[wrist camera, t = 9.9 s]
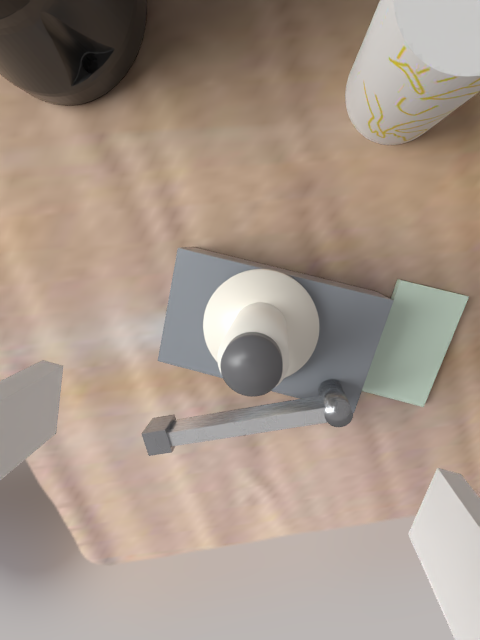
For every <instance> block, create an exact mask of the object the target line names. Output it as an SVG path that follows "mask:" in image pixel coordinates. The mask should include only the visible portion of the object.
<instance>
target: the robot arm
mask: <svg viewBox="0 0 480 640" xmlns="http://www.w3.org/2000/svg"><path fill="white" fill-rule="evenodd" d="M146 15H147V0H0V74H1V75H2V76H3V77H4V78H5V79H7V80H8V81H9V82H11V83H12V84H14V85H15V86H17V87H19V88H21V89H22V90H24V91H26V92H27V93H29V94H31V95H32V96H34V97H36V98H38V99H41V100H43V101H46V102H49V103H53V104H58V105H78V104H83V103H87V102H90V101H92V100H95V99H97V98H99V97H101V96H102V95H104V94H106V93H107V92H108V91H110V90H111V89H112V88H113V87H115V86H116V85H117V84H118V83H119V82H120V80H121V79H122V78H123V77H124V76H125V74H126V73H127V72H128V70H129V68H130V67H131V65H132V63H133V62H134V60H135V58H136V55H137V53H138V51H139V48H140V45H141V42H142V39H143V34H144V30H145V24H146ZM62 373H63V366H62V365H59V364H55V363H51V362H48V361H44V360H42V361H40V362H38V363H36V364H34V365H32V366H30V367H28V368H26V369H24V370H22V371H20V372H18V373H16V374H14V375H12V376H10V377H8V378H6V379H4V380H1V381H0V480H1V479H2V478H3V477H4V476H6V475H7V474H8V473H9V472H11V471H12V470H13V469H14V468H15V467H16V466H18V465H19V464H20V463H21V462H22V461H24V460H25V459H26V458H27V457H28V456H30V455H31V454H32V453H33V452H34V451H36V450H37V449H38V448H39V447H40V446H41V445H43V444H44V443H45V442H46V441H47V440H49V439H50V438H51V437H52V436H53V435H55V434H56V429H57V420H58V410H59V401H60V392H61V382H62ZM408 535H409V537H410V539H411V541H412V544H413V546H414V548H415V551H416V553H417V555H418V557H419V560H420V562H421V564H422V566H423V569H424V571H425V573H426V576H427V578H428V580H429V582H430V585H431V587H432V589H433V591H434V594H435V596H436V598H437V601H438V603H439V605H440V607H441V609H442V612H443V614H444V616H445V619H446V621H447V623H448V625H449V627H450V630H451V632H452V634H453V637H454V639H455V640H480V498H479V497H478V495H477V494H476V493H475V492H474V490H473V489H472V488H471V486H470V485H469V484H468V483H467V481H466V480H465V479H464V478H463V476H462V475H461V474H458V473H455V472H451V471H447V470H444V469H440V468H437V470H436V472H435V474H434V477H433V479H432V481H431V483H430V486H429V488H428V490H427V493H426V495H425V497H424V499H423V502H422V504H421V506H420V508H419V511H418V513H417V515H416V517H415V520H414V522H413V524H412V527H411V529H410V531H409V533H408Z"/></svg>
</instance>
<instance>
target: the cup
mask: <svg viewBox="0 0 480 640" xmlns="http://www.w3.org/2000/svg"><path fill="white" fill-rule="evenodd" d="M478 92H480V0H380V2H379V4H378V7H377V9H376V11H375V14H374V16H373V19H372V21H371V23H370V26H369V28H368V31H367V33H366V35H365V38H364V40H363V43H362V45H361V47H360V50H359V52H358V55H357V57H356V60H355V62H354V64H353V67H352V69H351V72H350V74H349V77H348V81H347V85H346V93H345V99H346V108H347V112H348V115H349V118H350V120H351V122H352V123H353V125H354V127H355V128H356V129H357V130H358V132H359V133H361V134H362V135H363V136H364V137H366V138H367V139H369V140H371V141H373V142H375V143H379V144H383V145H398V144H403V143H406V142H409V141H412V140H414V139H416V138H418V137H419V136H421V135H422V134H424V133H425V132H426V131H428V130H429V129H430V128H432V127H433V126H434V125H436V124H437V123H438V122H440V121H441V120H442V119H444V118H445V117H446V116H448V115H449V114H450V113H452V112H453V111H454V110H456V109H457V108H458V107H460V106H461V105H462V104H464V103H465V102H466V101H468V100H469V99H470V98H472V97H473V96H474V95H476V94H477V93H478Z"/></svg>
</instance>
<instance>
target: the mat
mask: <svg viewBox="0 0 480 640" xmlns="http://www.w3.org/2000/svg"><path fill="white" fill-rule="evenodd" d="M468 298H469V296H465V295H461V294H457V293H453V292H449V291H445V290H440V289H436V288H432V287H428V286H424V285H420V284H415V283H411V282H407V281H403V280H399V279H397V282H396V285H395V288H394V291H393V294H392V297H391V299H392V300H394V301H393V304H392V307H391V310H390V312H389V315H388V318H387V321H386V324H385V326H384V329H383V332H382V335H381V338H380V341H379V343H378V346H377V349H376V352H375V355H374V358H373V360H372V363H371V366H370V369H369V372H368V374H367V377H366V380H365V383H364V386H363V389H362V391H364V392H368V393H372V394H375V395H379V396H383V397H387V398H391V399H395V400H398V401H402V402H406V403H410V404H414V405H418V406H421V407H424V405H425V402H426V400H427V397H428V395H429V393H430V390H431V388H432V385H433V383H434V380H435V378H436V376H437V373H438V371H439V368H440V366H441V363H442V361H443V359H444V356H445V354H446V351H447V349H448V346H449V344H450V342H451V339H452V337H453V334H454V332H455V329H456V327H457V325H458V322H459V320H460V317H461V315H462V312H463V310H464V308H465V305H466V303H467V300H468Z"/></svg>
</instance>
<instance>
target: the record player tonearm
mask: <svg viewBox="0 0 480 640" xmlns="http://www.w3.org/2000/svg"><path fill="white" fill-rule="evenodd" d="M318 393H319V396H315V397H309V398H303V399H297V400H291V401H285V402H279V403H273V404H267V405H261V406H255V407H249V408H243V409H237V410H231V411H225V412H219V413H213V414H207V415H201V416H195V417H189V418H183V419H177V420H176V418H175V415H168V416H162V417H157V418H153V419H152V420H151V421H150V423H149V424H148V425H147V427H146V428H145V430H144V431H143V432H142V436H143V440H144V443H145V446H146V449H147V452H148V455H149V456H151V455H157V454H164V453H171V452H172V451H173V450H174V448H175V446H177V445H184V444H190V443H197V442H203V441H210V440H216V439H223V438H229V437H236V436H242V435H249V434H255V433H262V432H268V431H275V430H282V429H288V428H295V427H301V426H308V425H314V424H321V423H327V422H328V423H329V424H330V425H332V426H334V427H343V426H346V425H347V424H349V423H350V421H351V420H352V417H353V412H352V409H351V407H350V404H349V402H348V400H347V397H346V395H345V393H344V390H343V388H342V386H341V384H340V383H339V382H338V381H336V380H326V381H324V382H322V383H321V384H320V386H319V389H318Z"/></svg>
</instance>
